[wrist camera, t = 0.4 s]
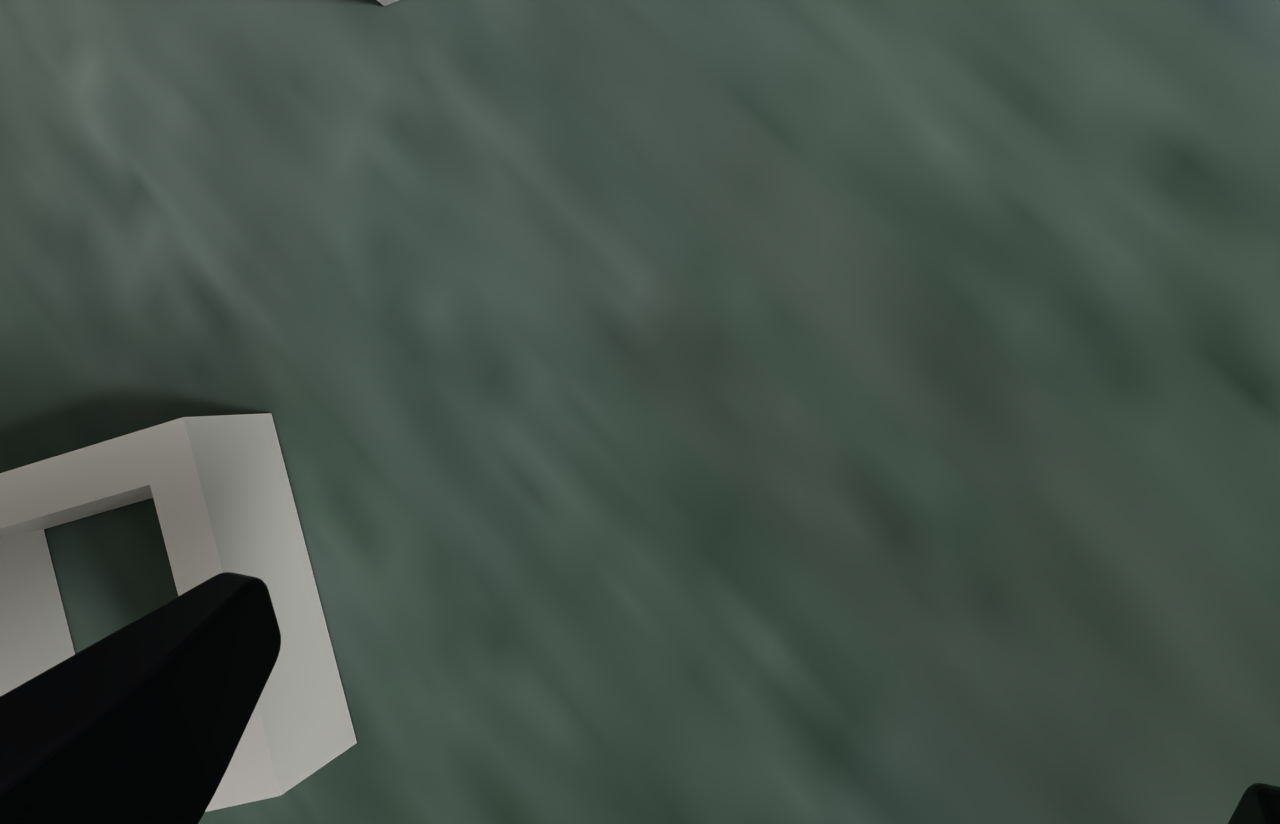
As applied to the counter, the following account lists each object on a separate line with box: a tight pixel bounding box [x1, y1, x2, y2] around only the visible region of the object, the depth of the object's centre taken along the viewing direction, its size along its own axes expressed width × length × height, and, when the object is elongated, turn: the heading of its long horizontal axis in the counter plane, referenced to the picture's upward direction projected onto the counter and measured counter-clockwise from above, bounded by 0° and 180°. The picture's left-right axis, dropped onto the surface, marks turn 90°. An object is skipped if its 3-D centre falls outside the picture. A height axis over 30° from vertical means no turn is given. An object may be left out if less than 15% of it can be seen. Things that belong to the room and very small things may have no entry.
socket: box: [0, 413, 357, 812], centre depth 26 cm, size 8×8×4 cm
